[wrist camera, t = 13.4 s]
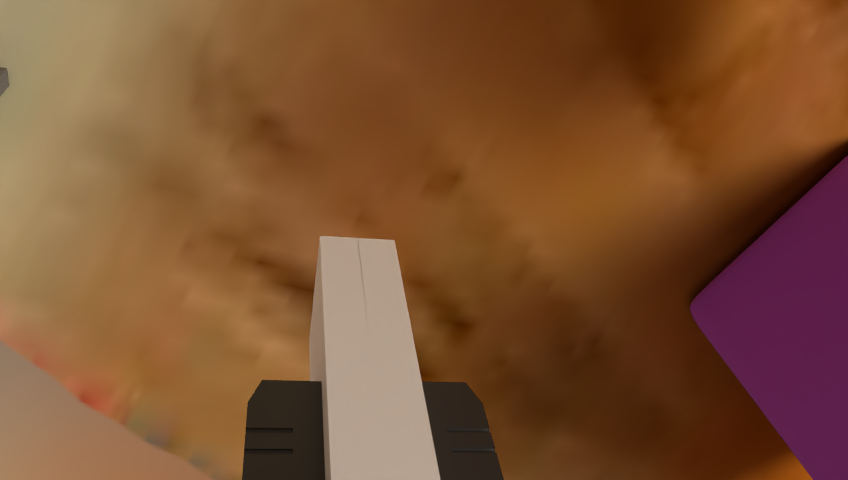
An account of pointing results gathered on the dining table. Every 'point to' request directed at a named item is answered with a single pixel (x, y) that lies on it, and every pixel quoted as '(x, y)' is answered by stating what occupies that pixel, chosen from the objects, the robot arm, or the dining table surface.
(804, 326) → the shopping bag
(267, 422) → the robot arm
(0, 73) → the bay box
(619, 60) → the dining table surface
